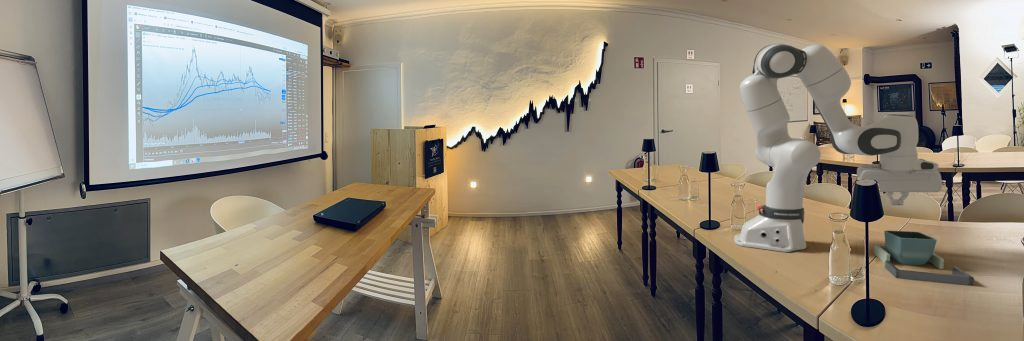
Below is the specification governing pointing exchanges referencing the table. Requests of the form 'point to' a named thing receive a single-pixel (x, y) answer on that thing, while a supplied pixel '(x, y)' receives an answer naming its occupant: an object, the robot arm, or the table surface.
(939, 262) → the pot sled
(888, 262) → the frame
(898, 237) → the flower pot
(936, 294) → the table surface
